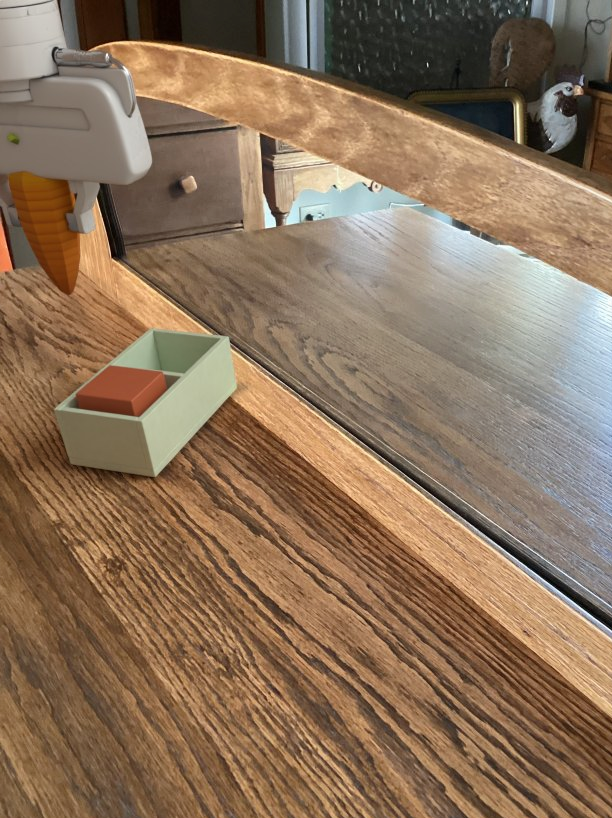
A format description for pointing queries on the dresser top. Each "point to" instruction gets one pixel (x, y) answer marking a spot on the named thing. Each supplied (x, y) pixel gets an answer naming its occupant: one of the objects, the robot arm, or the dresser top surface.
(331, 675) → the dresser top surface
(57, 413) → the sorting tray
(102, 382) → the terracotta block
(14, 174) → the carrot
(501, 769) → the dresser top surface
